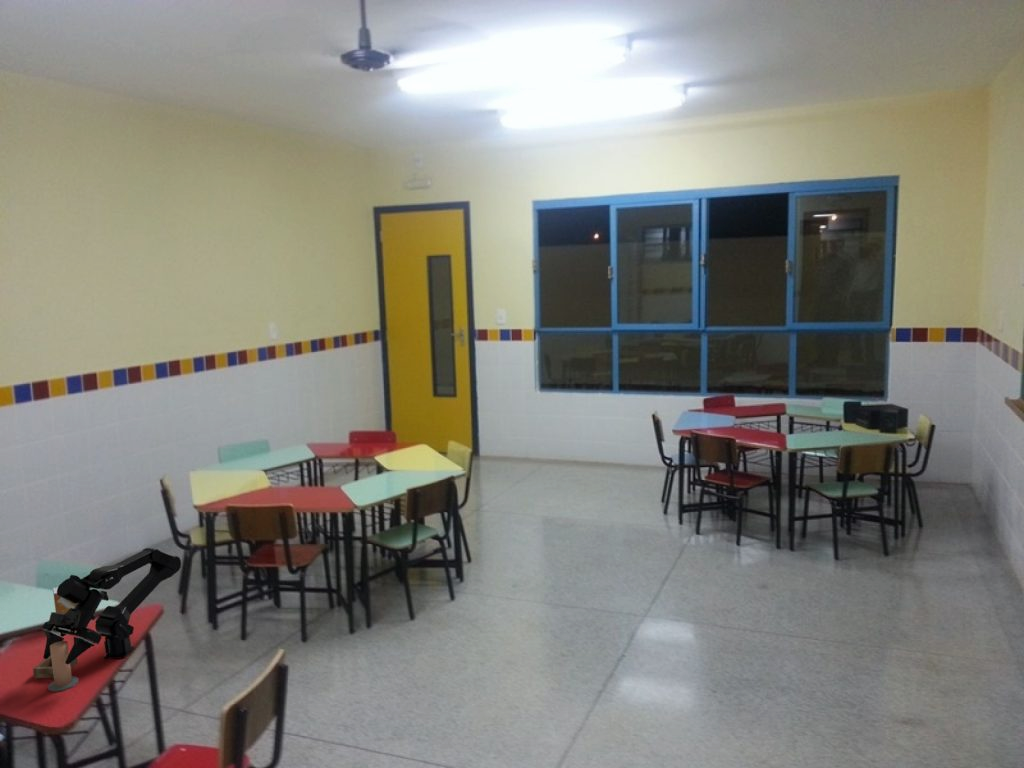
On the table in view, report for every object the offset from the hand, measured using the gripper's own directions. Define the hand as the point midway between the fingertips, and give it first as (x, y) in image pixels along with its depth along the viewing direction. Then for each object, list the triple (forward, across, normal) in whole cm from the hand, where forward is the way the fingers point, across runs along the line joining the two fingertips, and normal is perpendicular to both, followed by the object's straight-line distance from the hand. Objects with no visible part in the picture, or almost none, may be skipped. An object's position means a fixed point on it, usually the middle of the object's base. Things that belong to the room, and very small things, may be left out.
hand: (55, 661), depth 219 cm
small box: (-16, -36, +28) cm, 48 cm away
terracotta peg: (+4, 0, +6) cm, 8 cm away
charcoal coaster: (+5, 0, +7) cm, 8 cm away
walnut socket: (+1, -10, +10) cm, 14 cm away
